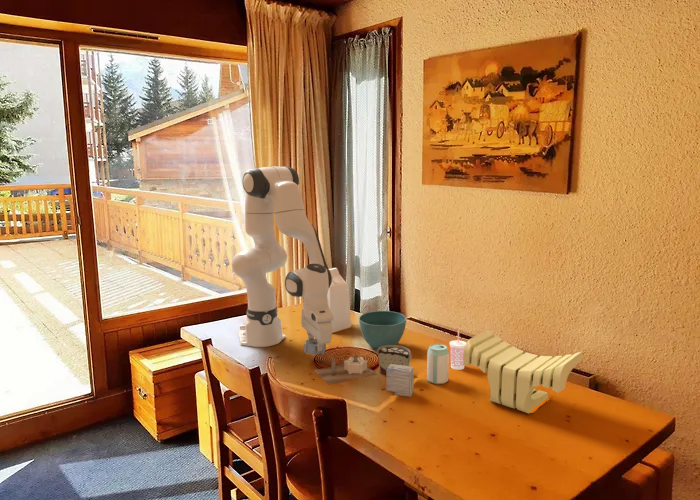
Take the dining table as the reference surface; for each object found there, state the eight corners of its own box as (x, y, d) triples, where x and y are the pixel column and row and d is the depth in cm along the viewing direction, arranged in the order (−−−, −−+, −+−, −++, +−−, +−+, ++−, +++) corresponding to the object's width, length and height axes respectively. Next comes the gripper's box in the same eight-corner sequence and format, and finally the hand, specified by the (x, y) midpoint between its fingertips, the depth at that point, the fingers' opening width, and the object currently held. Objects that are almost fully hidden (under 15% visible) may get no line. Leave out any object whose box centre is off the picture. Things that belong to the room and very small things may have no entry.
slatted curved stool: (462, 395, 171) (463, 342, 168) (487, 379, 182) (489, 329, 179) (556, 428, 151) (560, 367, 148) (577, 407, 162) (582, 351, 159)
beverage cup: (446, 368, 192) (447, 330, 189) (451, 362, 197) (452, 325, 194) (463, 371, 189) (464, 333, 186) (468, 365, 194) (469, 328, 192)
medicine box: (413, 391, 174) (414, 366, 172) (410, 397, 170) (410, 371, 168) (389, 388, 176) (389, 363, 175) (386, 394, 172) (386, 368, 171)
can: (430, 375, 187) (431, 341, 184) (450, 378, 184) (451, 344, 181) (424, 382, 180) (424, 348, 178) (444, 386, 177) (445, 352, 175)
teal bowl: (399, 359, 201) (399, 327, 199) (353, 353, 207) (352, 322, 204) (410, 342, 218) (410, 313, 216) (367, 337, 224) (366, 309, 221)
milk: (333, 321, 245) (332, 264, 241) (350, 327, 237) (350, 269, 232) (312, 327, 237) (311, 269, 233) (329, 333, 229) (328, 273, 224)
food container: (416, 375, 186) (416, 347, 185) (410, 382, 181) (410, 353, 179) (382, 369, 192) (382, 342, 190) (376, 376, 186) (376, 348, 184)
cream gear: (340, 371, 187) (340, 362, 187) (353, 363, 194) (352, 355, 193) (358, 376, 183) (358, 367, 183) (370, 368, 190) (370, 359, 189)
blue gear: (301, 348, 197) (301, 340, 196) (321, 345, 200) (321, 337, 200) (308, 356, 191) (308, 347, 190) (329, 353, 194) (329, 344, 193)
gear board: (313, 373, 189) (312, 353, 187) (359, 363, 197) (359, 345, 195) (329, 387, 177) (328, 367, 176) (376, 377, 185) (377, 357, 184)
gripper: (297, 302, 200) (296, 337, 203) (318, 319, 182) (317, 358, 185) (313, 300, 203) (312, 335, 206) (335, 317, 185) (334, 355, 188)
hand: (315, 346), depth 195 cm, fingers closed on blue gear, 6 cm apart
